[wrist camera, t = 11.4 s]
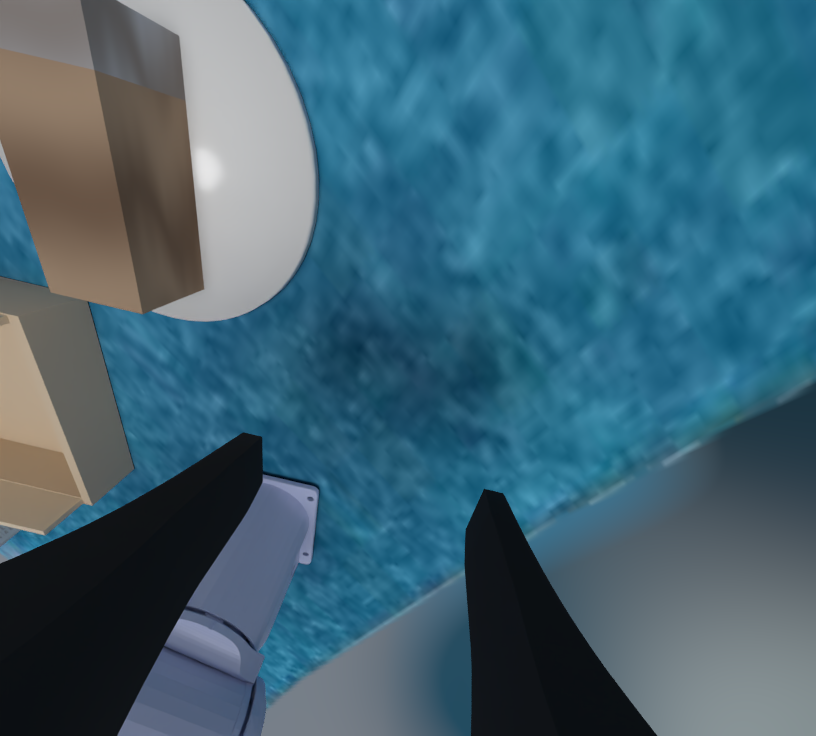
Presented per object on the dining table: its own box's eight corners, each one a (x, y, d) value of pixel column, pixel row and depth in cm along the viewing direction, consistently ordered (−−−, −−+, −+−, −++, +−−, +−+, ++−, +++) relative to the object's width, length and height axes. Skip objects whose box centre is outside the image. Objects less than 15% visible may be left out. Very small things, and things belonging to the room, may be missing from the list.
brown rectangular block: (204, 289, 18) (142, 314, 14) (130, 272, 18) (50, 292, 14) (179, 36, 13) (75, -23, 9) (77, 12, 13) (-65, -56, 9)
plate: (309, 342, 19) (304, 348, 19) (57, 283, 19) (42, 287, 19) (333, -29, 12) (325, -42, 11) (-71, -121, 12) (-103, -141, 11)
